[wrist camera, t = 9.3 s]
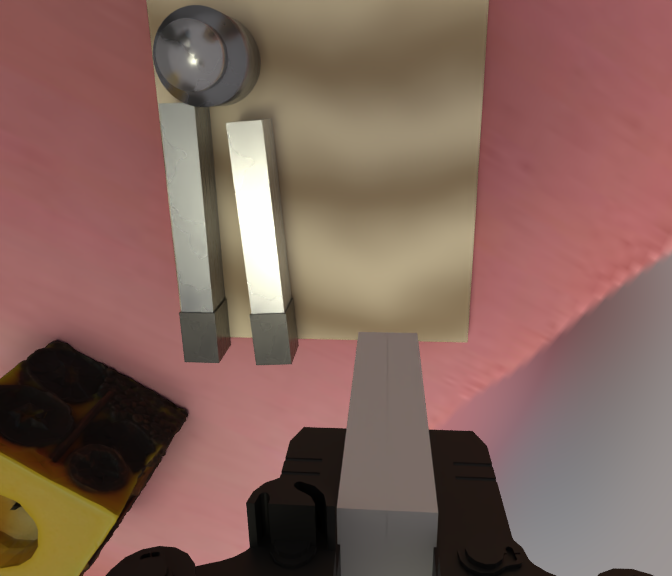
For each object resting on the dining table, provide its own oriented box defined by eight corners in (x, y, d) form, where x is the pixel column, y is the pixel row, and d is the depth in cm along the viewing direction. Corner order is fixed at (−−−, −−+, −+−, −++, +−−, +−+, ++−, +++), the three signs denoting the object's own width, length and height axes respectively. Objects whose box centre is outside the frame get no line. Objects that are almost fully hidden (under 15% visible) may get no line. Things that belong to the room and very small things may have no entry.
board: (154, -8, 30) (144, -12, 29) (486, -20, 28) (490, -25, 27) (190, 328, 36) (183, 335, 35) (465, 334, 34) (467, 342, 33)
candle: (192, 410, 38) (126, 514, 28) (131, 511, 41) (53, 635, 32) (55, 332, 37) (-61, 413, 28) (3, 442, 40) (-116, 548, 31)
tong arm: (183, 31, 29) (149, 21, 25) (263, 23, 28) (241, 12, 24) (231, 347, 34) (210, 381, 30) (298, 345, 34) (285, 379, 30)
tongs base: (165, 15, 29) (138, 6, 26) (258, 13, 29) (242, 3, 26) (198, 343, 35) (180, 367, 32) (276, 345, 34) (265, 369, 31)
